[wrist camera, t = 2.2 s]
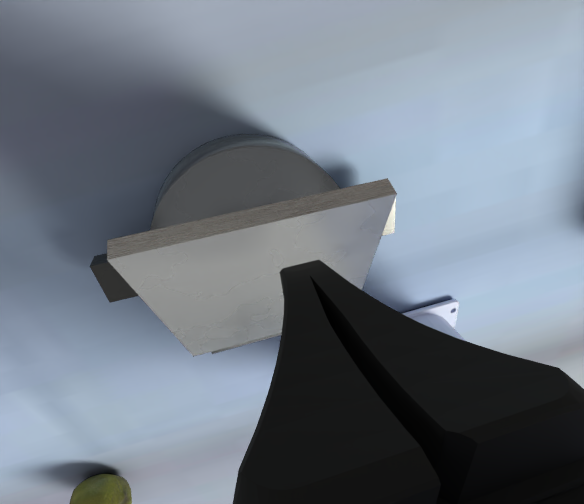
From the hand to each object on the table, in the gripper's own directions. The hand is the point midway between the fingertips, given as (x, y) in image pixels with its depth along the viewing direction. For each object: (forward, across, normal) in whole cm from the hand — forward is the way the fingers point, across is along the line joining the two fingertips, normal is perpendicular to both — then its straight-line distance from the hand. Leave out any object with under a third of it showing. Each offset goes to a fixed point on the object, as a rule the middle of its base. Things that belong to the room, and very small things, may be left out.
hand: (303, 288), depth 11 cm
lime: (+11, +18, +24) cm, 31 cm away
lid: (+5, +1, +3) cm, 6 cm away
